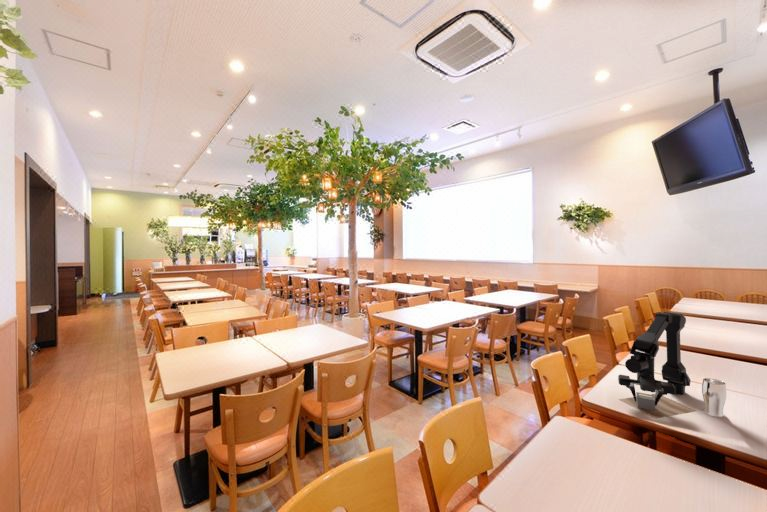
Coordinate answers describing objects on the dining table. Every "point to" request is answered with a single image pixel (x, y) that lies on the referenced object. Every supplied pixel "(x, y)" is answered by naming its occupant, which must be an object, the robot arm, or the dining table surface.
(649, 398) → the grey block
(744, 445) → the dining table surface
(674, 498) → the dining table surface
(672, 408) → the board
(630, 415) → the dining table surface
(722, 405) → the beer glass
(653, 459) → the dining table surface
